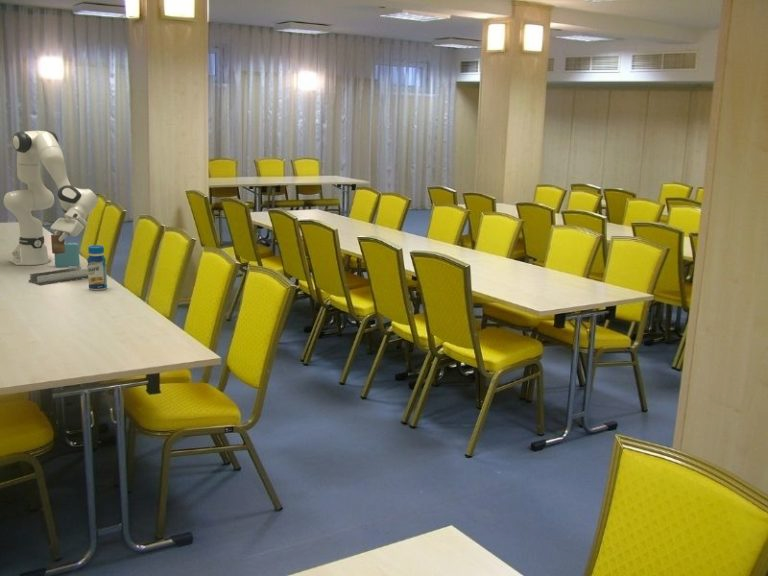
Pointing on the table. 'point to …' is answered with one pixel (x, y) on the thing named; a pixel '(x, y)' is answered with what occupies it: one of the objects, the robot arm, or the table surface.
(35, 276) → the rail
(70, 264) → the data package
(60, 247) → the brown rectangular block
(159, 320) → the table surface
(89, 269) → the beverage bottle
